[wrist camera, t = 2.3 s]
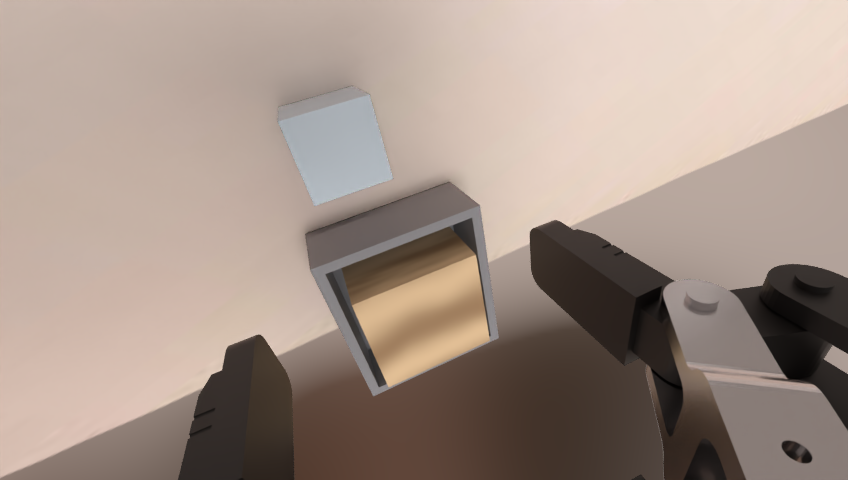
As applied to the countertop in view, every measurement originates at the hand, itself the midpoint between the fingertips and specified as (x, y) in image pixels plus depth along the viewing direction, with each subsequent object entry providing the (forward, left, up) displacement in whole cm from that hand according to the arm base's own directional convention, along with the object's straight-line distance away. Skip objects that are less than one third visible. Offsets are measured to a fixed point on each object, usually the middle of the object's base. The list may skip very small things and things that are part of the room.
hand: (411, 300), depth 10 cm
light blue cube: (-1, 0, -21) cm, 21 cm away
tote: (+14, +2, -20) cm, 25 cm away
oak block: (+14, +2, -20) cm, 24 cm away
